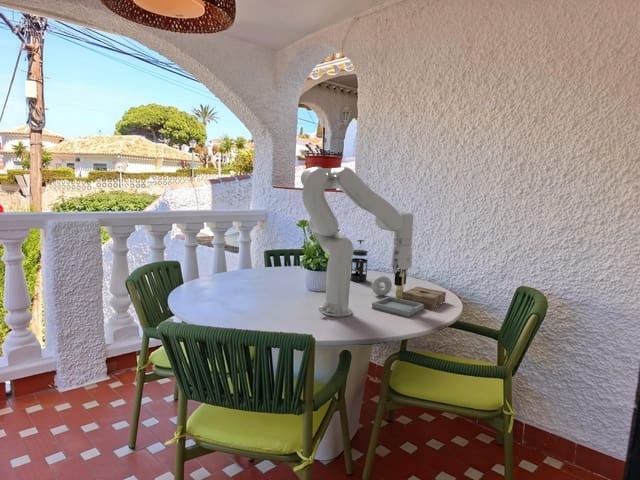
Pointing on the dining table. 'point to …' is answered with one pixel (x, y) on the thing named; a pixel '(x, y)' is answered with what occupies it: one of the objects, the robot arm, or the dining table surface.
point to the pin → (400, 288)
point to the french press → (359, 276)
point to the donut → (377, 281)
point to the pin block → (425, 296)
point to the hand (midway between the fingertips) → (400, 284)
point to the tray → (398, 306)
